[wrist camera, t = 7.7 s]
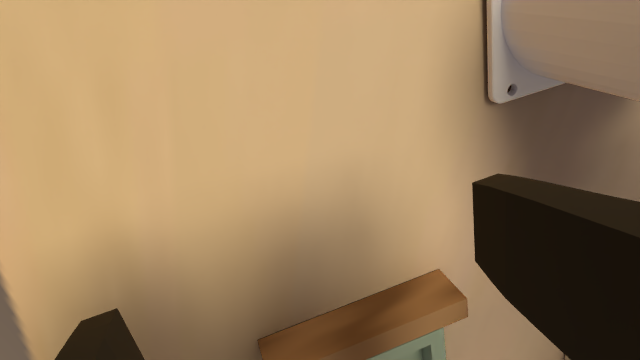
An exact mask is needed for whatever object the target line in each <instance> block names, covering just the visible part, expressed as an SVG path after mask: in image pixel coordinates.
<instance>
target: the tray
mask: <svg viewBox="0 0 640 360" xmlns="http://www.w3.org/2000/svg"><path fill="white" fill-rule="evenodd" d="M366 360H446V352H445V340H444V328H443V327H442V328H440V329H438V330H435V331H433V332H430V333H428V334H426V335H423V336H421V337H419V338H416V339H414V340H411V341H409V342H407V343H404V344H402V345H400V346H397V347H395V348H392V349H390V350H388V351H385V352H383V353H381V354H378V355H376V356H373V357H371V358H369V359H366Z"/></svg>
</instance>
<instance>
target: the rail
mask: <svg viewBox="0 0 640 360" xmlns="http://www.w3.org/2000/svg"><path fill="white" fill-rule="evenodd" d="M466 317H468V307H467V298H466V297H465V296H464V295H463V294H462V293H461V292H460V291H459V290H458V288H457V287H456V286H455V285H454V284H453V283H452V282H451V281H450V280H449V279H448V278H447V277H446V276H445V275H444V274H443V273H442V272H441V271H440V270H439V269H438V270H436V271H433V272H431V273H428V274H425V275H423V276H420V277H418V278H415V279H413V280H410V281H408V282H405V283H402V284H400V285H397V286H395V287H392V288H390V289H387V290H385V291H382V292H379V293H377V294H374V295H372V296H369V297H367V298H364V299H362V300H359V301H356V302H354V303H351V304H349V305H346V306H344V307H341V308H338V309H336V310H333V311H331V312H328V313H326V314H323V315H321V316H318V317H315V318H313V319H310V320H308V321H305V322H303V323H300V324H298V325H295V326H292V327H290V328H287V329H285V330H282V331H280V332H277V333H275V334H272V335H269V336H267V337H264V338H262V339H259V340H258V343H259V347H260V351H261V354H262V358H263V360H366V359H369V358H371V357H373V356H376V355H378V354H381V353H383V352H385V351H388V350H390V349H392V348H395V347H397V346H400V345H402V344H404V343H407V342H409V341H411V340H414V339H416V338H419V337H421V336H423V335H426V334H428V333H430V332H433V331H435V330H438V329H440V328H442V327H445V326H447V325H449V324H452V323H454V322H457V321H459V320H461V319H464V318H466Z"/></svg>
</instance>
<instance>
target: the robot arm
mask: <svg viewBox="0 0 640 360" xmlns="http://www.w3.org/2000/svg"><path fill="white" fill-rule="evenodd" d="M487 56H488V96H489V99H490V100H491V101H493V102H495V103H498V104H501V103H505V102H508V101H511V100H514V99H518V98H521V97H524V96H527V95H530V94H533V93H536V92H540V91H543V90H546V89H549V88H552V87H555V86H558V85H562V84H565V83H569V84H573V85H577V86H581V87H585V88H589V89H593V90H596V91H600V92H604V93H608V94H612V95H616V96H620V97H624V98H628V99H631V100H635V101H639V102H640V0H487ZM510 85H511V90H510V91H509V92H508V93H507V90H508V88H509V86H510ZM472 186H473V214H474V242H475V261H476V263H477V264H478V265H479V266H480V268H481V269H482V270H483V272H484V273H485V274H486V275H487V277H488V278H489V279H490V280H491V282H492V283H493V284H494V285H495V286H496V288H497V289H498V290H499V291H500V292H501V293H502V295H503V296H504V297H505V298H506V299H507V300H508V301H509V302H510V303H511V304H512V305H513V306H514V307H515V308H516V309H517V310H518V311H519V312H520V313H521V314H522V315H524V316H525V317H526V318H527V319H528V320H529V321H530V322H531V323H532V324H533V325H534V326H535V327H536V328H537V329H538V330H539V331H540V332H542V333H543V334H544V335H545V336H546V337H547V338H548V339H549V340H550V341H551V342H552V343H553V344H554V345H555V346H557V347H558V348H559V349H560V350H561V351H562V352H563V353H564V354H565V355H566V356H567V357H568V358H569V359H571V360H640V202H637V201H632V200H627V199H622V198H617V197H612V196H607V195H603V194H598V193H593V192H589V191H584V190H579V189H575V188H570V187H566V186H561V185H556V184H552V183H547V182H543V181H538V180H533V179H528V178H522V177H517V176H511V175H503V174H496V175H493V176H490V177H487V178H484V179H482V180H479V181H476V182H473V183H472ZM55 360H144V358H143V356H142V354H141V352H140V350H139V348H138V346H137V345H136V343H135V341H134V339H133V337H132V335H131V333H130V331H129V330H128V328H127V326H126V324H125V322H124V320H123V318H122V316H121V315H120V313H119V311H118V309H114V310H111V311H108V312H105V313H103V314H100V315H97V316H94V317H91V318H88V319H86V320H83V321H81V322H80V323H79V325H78V326H77V328H76V329H75V330H74V332H73V333H72V335H71V336H70V337H69V339H68V340H67V342H66V343H65V345H64V346H63V348H62V349H61V351H60V352H59V354H58V355H57V357H56V358H55Z"/></svg>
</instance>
